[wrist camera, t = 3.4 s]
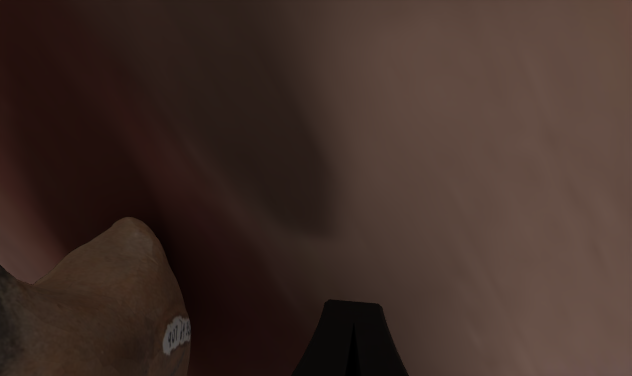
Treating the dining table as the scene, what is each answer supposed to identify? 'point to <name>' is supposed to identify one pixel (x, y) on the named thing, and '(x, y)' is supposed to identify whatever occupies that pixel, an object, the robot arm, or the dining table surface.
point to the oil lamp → (98, 312)
